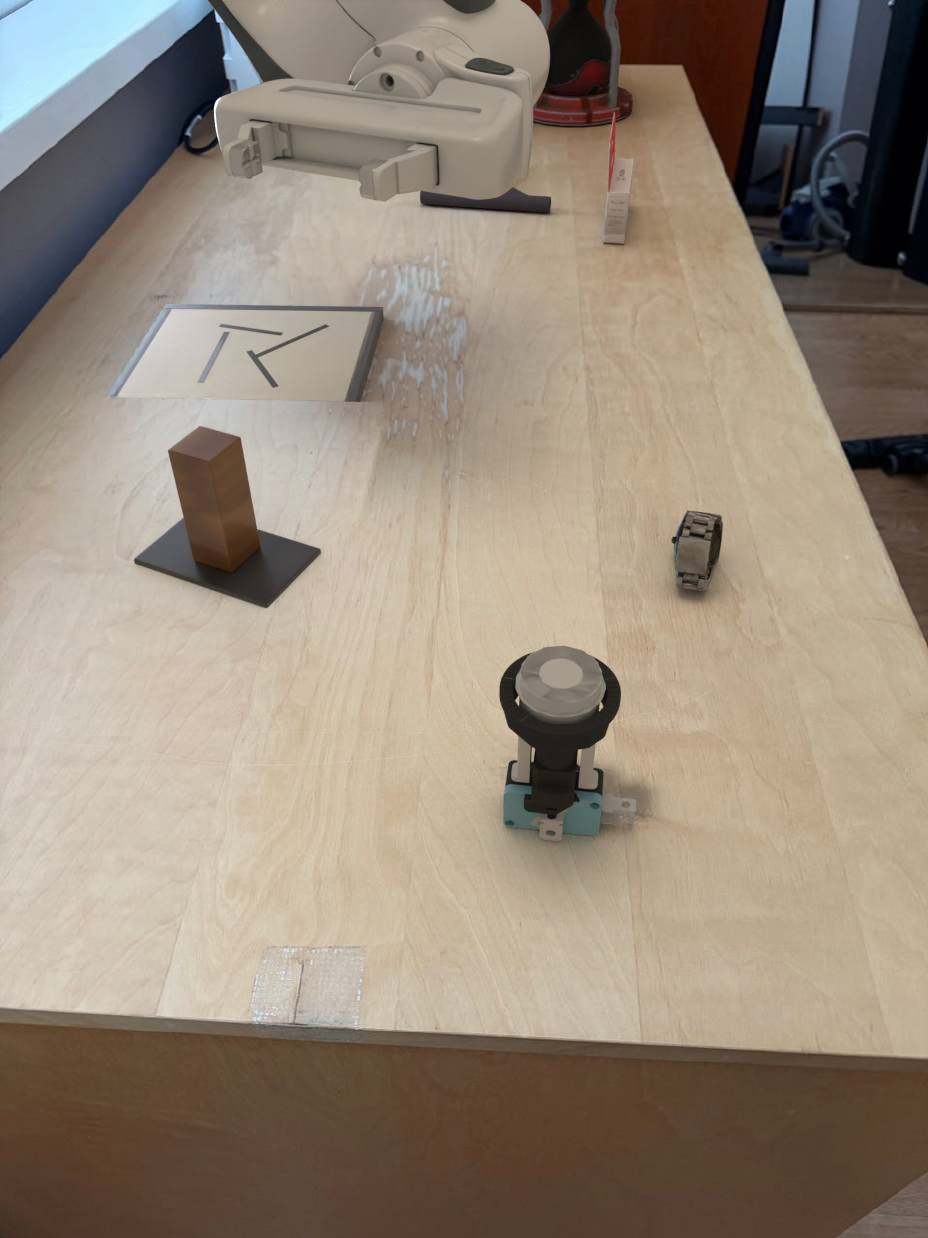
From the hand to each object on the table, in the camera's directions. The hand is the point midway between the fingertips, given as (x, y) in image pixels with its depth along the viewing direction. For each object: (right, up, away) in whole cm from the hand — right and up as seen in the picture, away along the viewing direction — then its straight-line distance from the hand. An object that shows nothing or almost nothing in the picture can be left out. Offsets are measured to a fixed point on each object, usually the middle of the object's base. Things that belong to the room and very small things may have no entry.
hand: (299, 174), depth 60 cm
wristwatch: (+24, -23, +6) cm, 34 cm away
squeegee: (+13, +24, +59) cm, 65 cm away
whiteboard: (-8, -5, +26) cm, 28 cm away
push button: (+15, -36, -9) cm, 40 cm away
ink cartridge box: (+26, +16, +50) cm, 59 cm away
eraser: (-5, -23, +6) cm, 25 cm away
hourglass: (+24, +44, +82) cm, 96 cm away
